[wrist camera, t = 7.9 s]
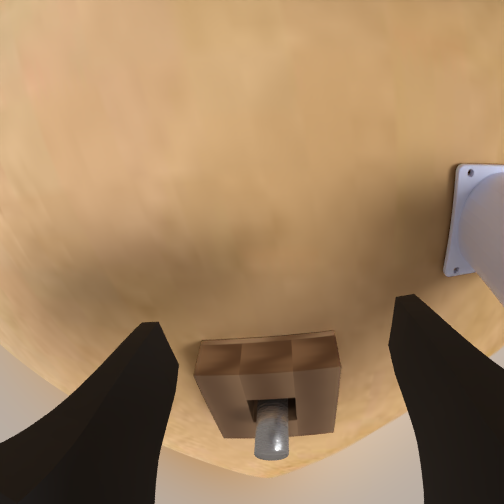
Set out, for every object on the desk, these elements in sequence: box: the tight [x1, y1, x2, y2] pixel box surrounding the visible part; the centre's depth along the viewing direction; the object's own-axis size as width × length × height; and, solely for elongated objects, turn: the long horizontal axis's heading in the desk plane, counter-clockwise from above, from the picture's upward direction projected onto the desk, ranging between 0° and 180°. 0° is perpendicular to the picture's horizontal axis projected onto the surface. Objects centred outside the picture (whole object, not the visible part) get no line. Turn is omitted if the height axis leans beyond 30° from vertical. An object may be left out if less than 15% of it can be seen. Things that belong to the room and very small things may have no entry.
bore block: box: [194, 331, 341, 438], centre depth 24 cm, size 10×10×4 cm
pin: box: [254, 398, 289, 460], centre depth 21 cm, size 2×2×7 cm
